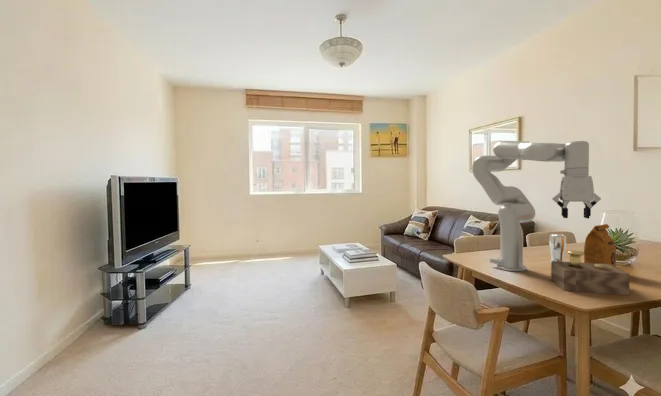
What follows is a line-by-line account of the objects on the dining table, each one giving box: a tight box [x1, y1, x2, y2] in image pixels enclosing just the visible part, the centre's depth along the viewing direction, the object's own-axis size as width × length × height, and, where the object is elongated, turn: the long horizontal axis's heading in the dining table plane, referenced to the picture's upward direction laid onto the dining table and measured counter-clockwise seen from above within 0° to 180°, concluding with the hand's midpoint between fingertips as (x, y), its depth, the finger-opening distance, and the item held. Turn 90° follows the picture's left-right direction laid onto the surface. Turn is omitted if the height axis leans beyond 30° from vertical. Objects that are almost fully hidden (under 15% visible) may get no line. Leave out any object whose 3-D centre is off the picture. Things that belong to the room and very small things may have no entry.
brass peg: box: [566, 249, 584, 268], centre depth 123 cm, size 5×5×8 cm
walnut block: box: [550, 260, 630, 296], centre depth 122 cm, size 20×14×9 cm
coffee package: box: [583, 223, 617, 268], centre depth 140 cm, size 10×12×22 cm
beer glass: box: [548, 233, 567, 265], centre depth 155 cm, size 7×7×15 cm
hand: (575, 217), depth 122 cm, fingers open, 6 cm apart
